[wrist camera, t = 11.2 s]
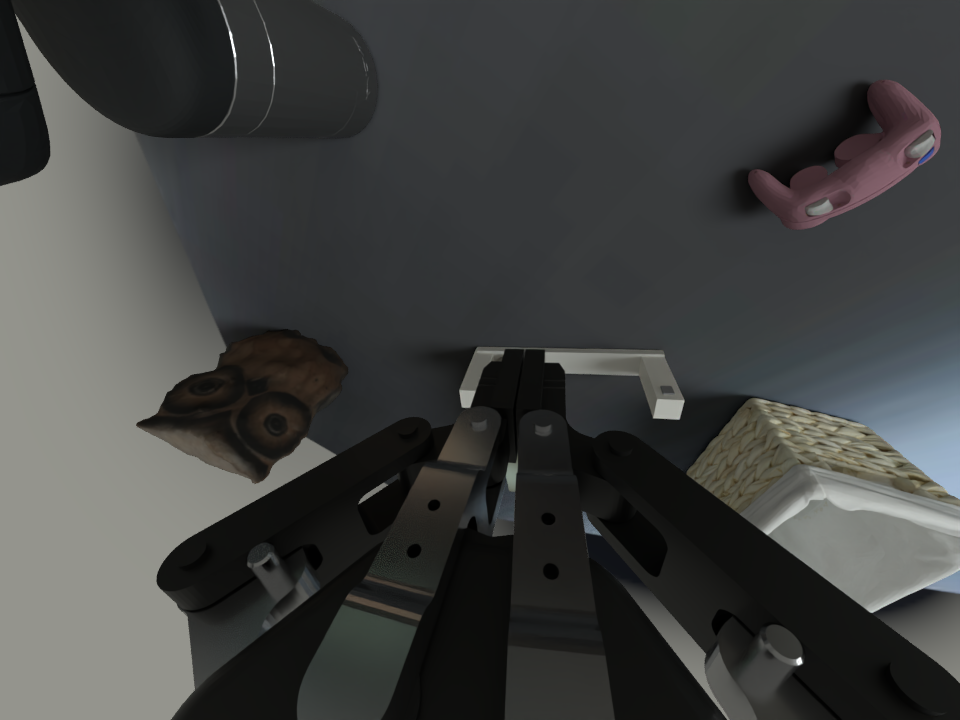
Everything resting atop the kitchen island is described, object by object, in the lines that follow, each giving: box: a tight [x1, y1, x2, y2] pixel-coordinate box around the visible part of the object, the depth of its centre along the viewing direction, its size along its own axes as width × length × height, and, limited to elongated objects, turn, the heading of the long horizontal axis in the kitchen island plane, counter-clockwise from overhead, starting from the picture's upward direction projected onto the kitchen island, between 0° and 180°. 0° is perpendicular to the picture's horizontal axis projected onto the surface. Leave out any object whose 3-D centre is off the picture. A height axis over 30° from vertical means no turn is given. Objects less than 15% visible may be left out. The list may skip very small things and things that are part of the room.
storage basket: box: [686, 398, 960, 613], centre depth 41 cm, size 24×16×15 cm
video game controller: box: [748, 80, 941, 230], centre depth 27 cm, size 10×5×7 cm, turn 134°
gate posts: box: [459, 347, 685, 420], centre depth 40 cm, size 22×3×9 cm, turn 95°
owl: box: [136, 329, 348, 484], centre depth 44 cm, size 13×13×20 cm
